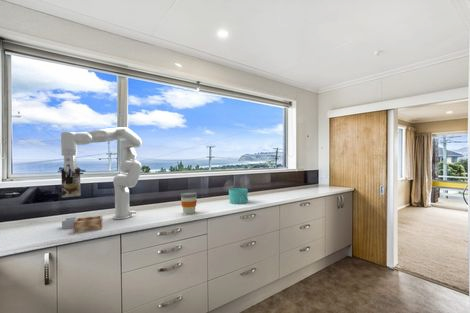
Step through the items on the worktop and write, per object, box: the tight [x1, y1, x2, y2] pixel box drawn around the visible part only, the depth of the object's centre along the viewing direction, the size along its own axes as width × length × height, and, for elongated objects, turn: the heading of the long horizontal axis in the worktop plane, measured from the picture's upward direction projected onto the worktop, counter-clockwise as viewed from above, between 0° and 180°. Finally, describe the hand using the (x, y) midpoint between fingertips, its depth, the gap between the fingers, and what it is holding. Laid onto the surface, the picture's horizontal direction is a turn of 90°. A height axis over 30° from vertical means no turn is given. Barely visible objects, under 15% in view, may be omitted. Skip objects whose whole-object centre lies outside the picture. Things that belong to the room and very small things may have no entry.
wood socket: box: [73, 214, 104, 234], centre depth 141 cm, size 14×11×6 cm
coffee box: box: [60, 168, 82, 198], centre depth 135 cm, size 9×6×16 cm
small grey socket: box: [61, 216, 79, 230], centre depth 146 cm, size 8×8×5 cm
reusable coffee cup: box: [180, 191, 198, 215], centre depth 181 cm, size 12×13×15 cm
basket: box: [228, 187, 249, 205], centre depth 219 cm, size 19×18×13 cm
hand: (70, 182), depth 135 cm, fingers closed on coffee box, 7 cm apart
